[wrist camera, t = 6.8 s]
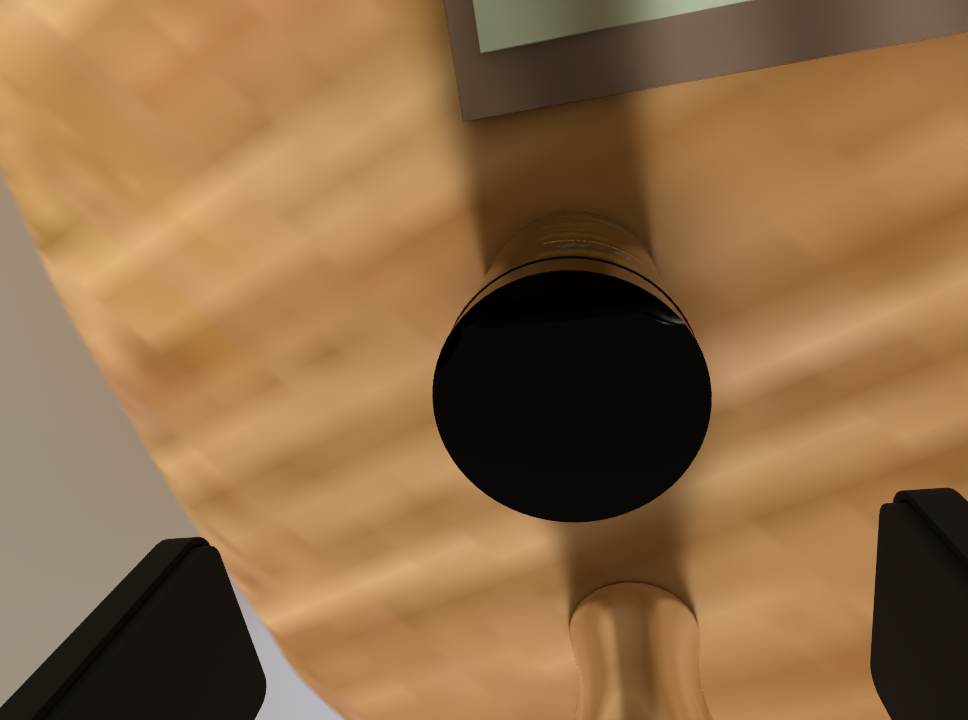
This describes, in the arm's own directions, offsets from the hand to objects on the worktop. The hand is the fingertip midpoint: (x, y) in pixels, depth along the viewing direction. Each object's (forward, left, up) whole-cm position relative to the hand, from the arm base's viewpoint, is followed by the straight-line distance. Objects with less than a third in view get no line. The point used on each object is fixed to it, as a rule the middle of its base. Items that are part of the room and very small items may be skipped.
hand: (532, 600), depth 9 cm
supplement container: (0, 0, -17) cm, 17 cm away
